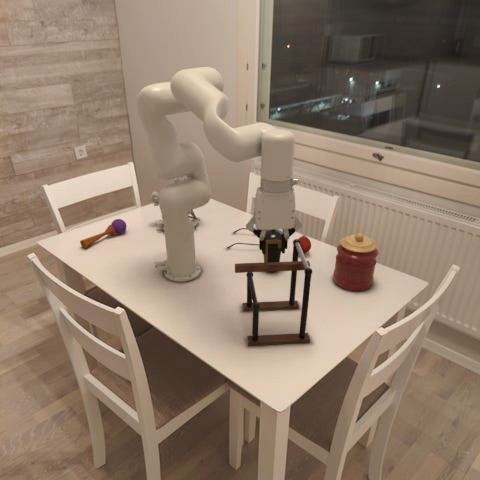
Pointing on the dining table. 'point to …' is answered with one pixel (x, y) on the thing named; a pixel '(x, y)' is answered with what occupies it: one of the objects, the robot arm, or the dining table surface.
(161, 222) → the flower
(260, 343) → the rack
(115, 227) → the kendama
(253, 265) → the hanger
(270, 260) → the drinking cup
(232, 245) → the glasses
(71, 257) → the dining table surface
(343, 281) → the kitchen canister
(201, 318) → the dining table surface
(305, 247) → the red oval fruit
